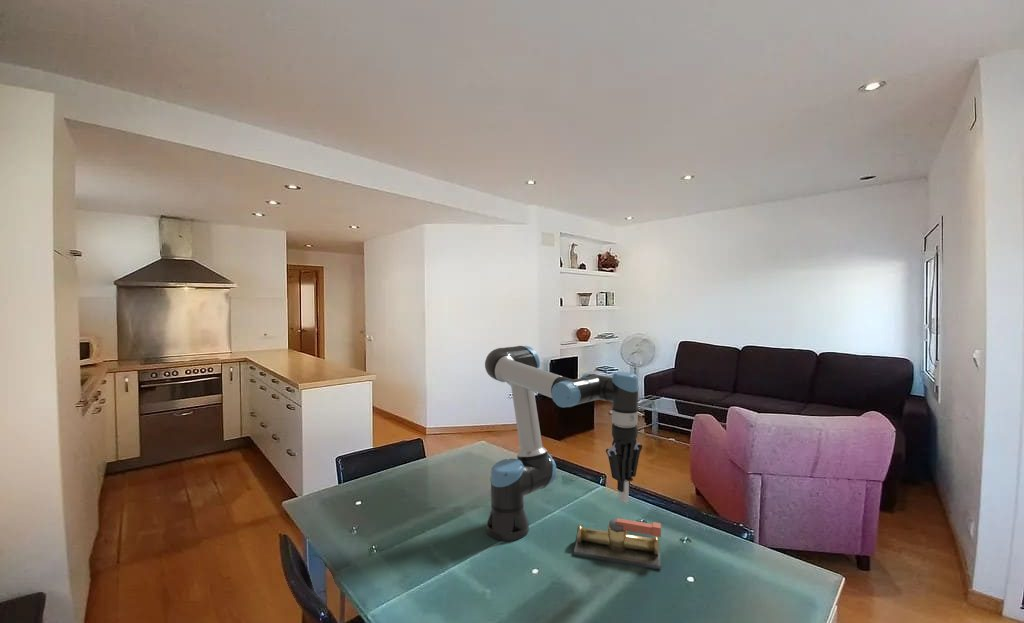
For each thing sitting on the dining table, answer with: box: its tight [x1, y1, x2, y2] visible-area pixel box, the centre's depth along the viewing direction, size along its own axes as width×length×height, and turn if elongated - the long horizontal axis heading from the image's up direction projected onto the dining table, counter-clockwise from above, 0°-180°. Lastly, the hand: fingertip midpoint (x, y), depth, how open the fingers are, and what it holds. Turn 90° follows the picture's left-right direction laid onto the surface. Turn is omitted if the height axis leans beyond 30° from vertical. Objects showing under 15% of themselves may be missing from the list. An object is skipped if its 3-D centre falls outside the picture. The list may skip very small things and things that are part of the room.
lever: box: [608, 517, 662, 538], centre depth 131 cm, size 5×16×3 cm, turn 69°
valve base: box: [573, 524, 662, 571], centre depth 133 cm, size 26×14×7 cm, turn 73°
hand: (623, 500), depth 125 cm, fingers closed
